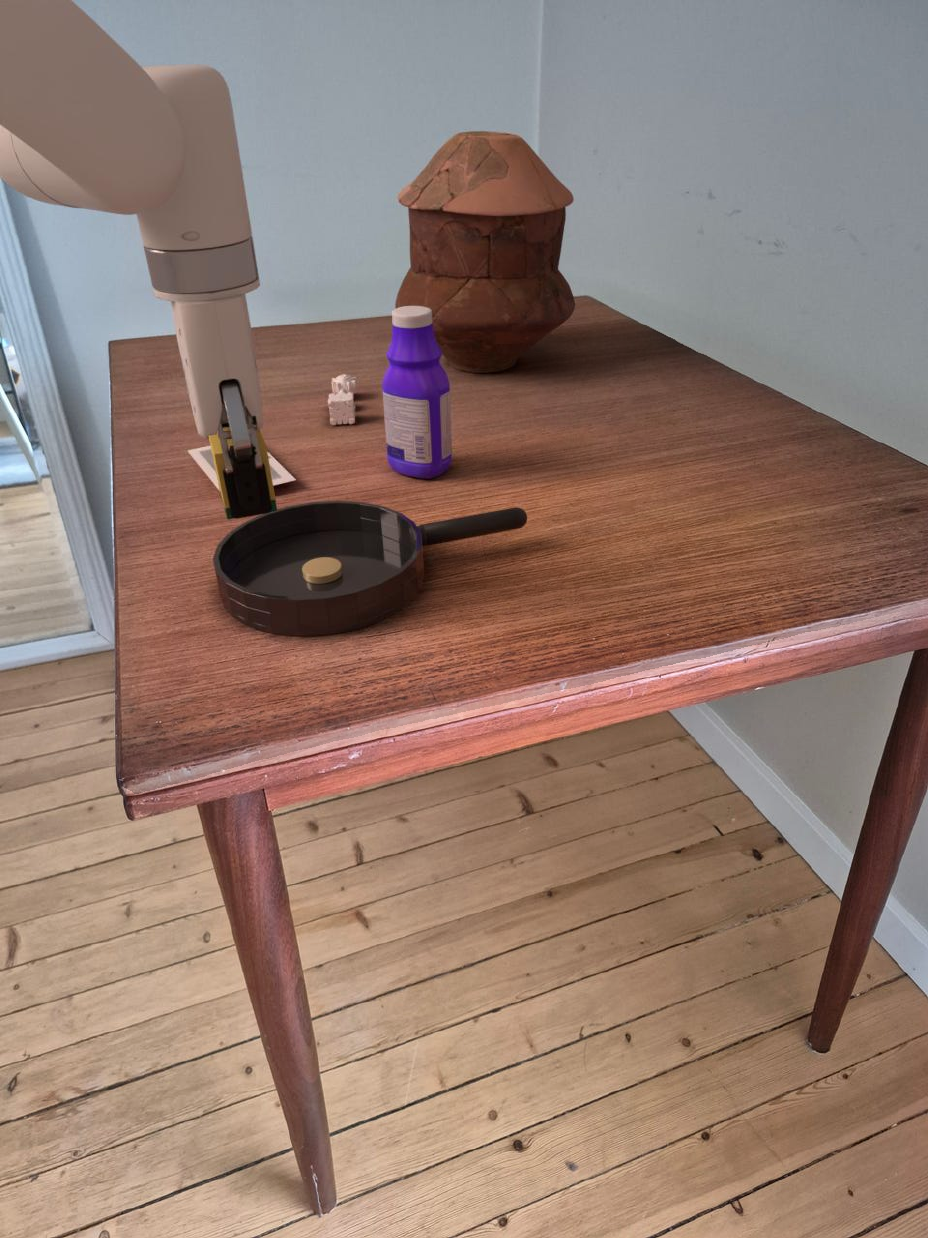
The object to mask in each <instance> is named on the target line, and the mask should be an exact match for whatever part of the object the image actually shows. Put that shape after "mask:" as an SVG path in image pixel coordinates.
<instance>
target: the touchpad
mask: <svg viewBox="0 0 928 1238" xmlns="http://www.w3.org/2000/svg"><path fill="white" fill-rule="evenodd" d="M186 452H187V453H188V454H189V455H190V456H191V458H192V459H193V460H194V461H195V462H196V464H197V465H198V466H199V467H200V468H201V470H202V471H203V473H205V475H206V476H207V477H208V478H209V481H211V483H212V484H213V486H215V487H216V488H217V490H218V491H219V492H220V489H219V485H218V480H217V475H216V470H215V465H214V460H213V455H212V451H211V446H210V445H206V446H202V447H197V448H192V449H188V450H186ZM267 453H268V458H269V464H270V470H271V476H272V482H273V487H274V486H278V485H282V484H283V485H284V484H286V483H290V482H294V481H297V479H296V478H295V477H294V476H293V475H292V474H291V473H290V472H289V471H288V470H287V469H286V468H285V467H284V466H283V465H282V464H281V463H280V462H279V461H278V460H276V459H277V458H275V457H274V456H273V455H272V454H271V453H270V452H268V450H267Z"/></svg>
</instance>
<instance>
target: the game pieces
mask: <svg viewBox="0 0 928 1238" xmlns="http://www.w3.org/2000/svg"><path fill="white" fill-rule="evenodd" d="M330 383H331V389H332V392H331V393H329V394H328V399H327V407H328V411H329V412H328V413H329V424H330V425H332V426H336V425H347V424H349V425H353V424H355V423H356V409H357V408H356V405H355V403H354V401H355V400H354V398H355V397H354V396H355V395H354V394H356V393H357V377H356V376H352V375H348V374H345V373H344V374H343V373H342V374H339V375H338V376H336V377H332V378H331V382H330Z"/></svg>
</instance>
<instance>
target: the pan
mask: <svg viewBox="0 0 928 1238" xmlns="http://www.w3.org/2000/svg"><path fill="white" fill-rule="evenodd" d="M417 526H418V525H417V524H416V522H415V521H413V520H412V519H410V518H409V517H407V516H406V515H405V514H403V513H401V511H400V512H399V511H397V510H394V509H392V508H389V507H386V506H384V505H378V504H374V503H368V502H365V501H364V502H363V501H351V500H350V501H349V500H326V501H324V500H323V501H313V502H312V501H311V502H306V503H305V502H304V503H299V504H293V505H288V506H285V507H284V506H283V507H281V508H277V511H273V512H270V513H266V514H260V515H256V517H255V516H254V517H253V518H251V519H248V520H246V521H244V522H242V523H241V524H239V525H238V526H237V527H235V528H233V529H232V530H230V531H229V532H228V533H227V534H226V535H225V536H224V537H223V538H222V539H221V540H220V542H219V543H217V545H216V549H215V551H214V554H213V556H212V563H213V568H214V573H215V576H216V580H217V581H216V582H217V586H218V591H219V595H220V599H221V603H222V605H223V607H224V609H225V610H226V611H227V613H228V614H229V615H230V616H232V618H233V619H235V620H237V621H238V622H240V623H241V624H243V625H245V626H247V627H250V628H251V629H254V630H258V631H261V632H265V633H270V634H273V635H279V636H290V637H292V636H293V637H316V636H317V637H318V636H328V635H336V634H341V633H346V632H351V631H354V630H358V629H362V628H365V627H368V626H371V625H373V624H377V623H378V622H380V621H383V620H385V619H387V618H390V617H391V616H392V615H395V614H396V613H398V612H399V611H401V610H402V609H403V608H405V607H406V606H407V605H408V604H410V603H411V602H412V601H413V600H414V599H415V597H416V596H417V595H418V594H419V592H420V590H421V588H422V587H423V584H424V580H425V564H424V563H425V562H424V546H422V533H421V532H420V530H419V529H418V527H417ZM321 557H330V558H335V559H337V560H339V561H340V562H341V564H342V575H341V577H340V578H338V579H337V580H335V581H333V582H330V583H325V584H314V583H310V582H307V581H306V580H305V579H304V578H303V573H302V567H303V565H304V564H305V563H306V562H308V561H310V560H312V559H315V558H321Z"/></svg>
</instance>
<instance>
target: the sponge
mask: <svg viewBox="0 0 928 1238" xmlns="http://www.w3.org/2000/svg"><path fill="white" fill-rule="evenodd" d="M248 427H249V425H248V424H247V428H248ZM255 429H256V428H255ZM229 430H230V428H229V427H224V428H223V431H229ZM256 435H257V440H258V445H259V450H260V455H261V460H262V464H263V463H264V465H265V470H266V476H267V481H268V487H269V493H270V499H271V504H272V511H271V512H273V511H277V509H278V507H277V500H276V494H275V489H274V486H273V482H272V476H271V470H270V464H269V458H268V453H267V451H268V448H267V444H266V442H265V440H264V437H263V435H262V432H261V429H260V430H259V431H257V430H256ZM208 437H209V439H208V441H209V446H211V451H212V455H213V460H214V465H215V470H216V475H217V480H218V485H219V489H220V491H219V493H220V498H221V501H222V505H223V508H224V513H225V516H226V520H234V519H235V518H233V517H232V515H231V511H230V506H229V501H228V496H227V491H226V486H225V481H224V476H223V471H222V470H226V468H225V464H224V459H223V454H222V449H221V445H220V440H219V438H218V431H217V434H216V435H209V436H208ZM227 442H228V447H229V448H230V446H233V444H232V439H227Z"/></svg>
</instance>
